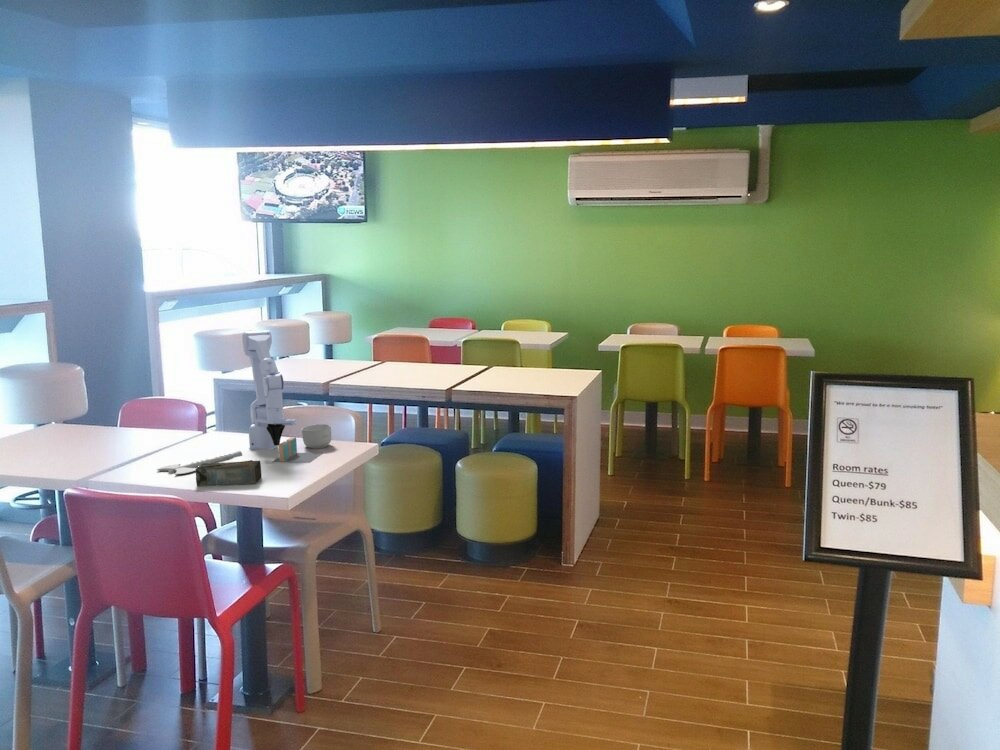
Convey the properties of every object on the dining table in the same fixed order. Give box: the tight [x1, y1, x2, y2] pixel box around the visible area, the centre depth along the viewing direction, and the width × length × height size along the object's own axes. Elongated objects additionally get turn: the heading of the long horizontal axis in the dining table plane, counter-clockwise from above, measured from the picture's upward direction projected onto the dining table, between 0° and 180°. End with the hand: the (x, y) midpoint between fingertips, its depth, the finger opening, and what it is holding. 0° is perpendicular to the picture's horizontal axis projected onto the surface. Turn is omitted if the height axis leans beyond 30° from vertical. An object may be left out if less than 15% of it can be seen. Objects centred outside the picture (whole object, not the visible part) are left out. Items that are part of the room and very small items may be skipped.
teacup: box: [300, 423, 332, 449], centre depth 319 cm, size 14×11×8 cm
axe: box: [156, 450, 243, 476], centre depth 295 cm, size 30×14×2 cm, turn 144°
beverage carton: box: [194, 459, 262, 487], centre depth 272 cm, size 8×19×7 cm, turn 95°
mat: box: [271, 452, 324, 464], centre depth 301 cm, size 14×14×1 cm
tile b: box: [278, 440, 289, 463], centre depth 298 cm, size 2×5×6 cm, turn 172°
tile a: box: [286, 436, 298, 457], centre depth 305 cm, size 2×5×6 cm, turn 172°
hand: (276, 444), depth 305 cm, fingers closed
